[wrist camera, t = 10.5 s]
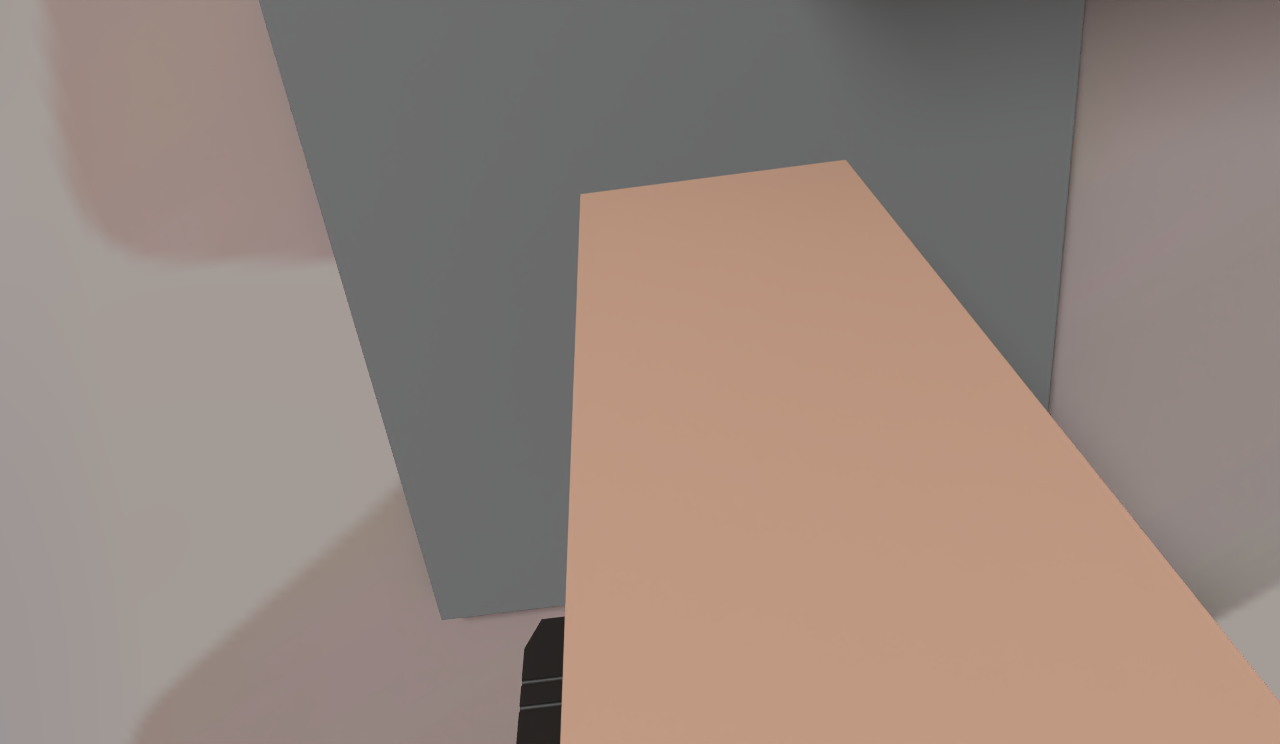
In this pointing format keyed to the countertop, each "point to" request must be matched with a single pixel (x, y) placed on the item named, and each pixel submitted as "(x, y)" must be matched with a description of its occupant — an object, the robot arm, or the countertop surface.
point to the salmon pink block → (844, 503)
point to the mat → (632, 157)
